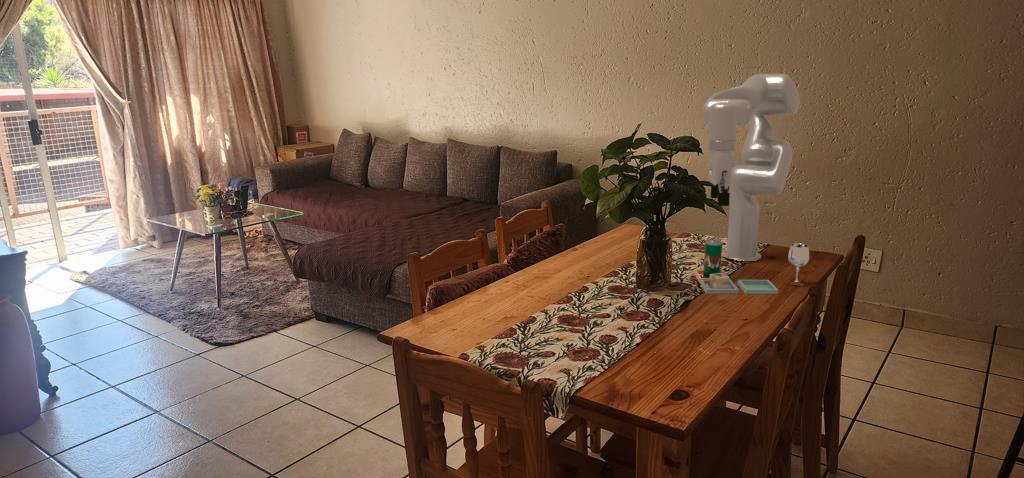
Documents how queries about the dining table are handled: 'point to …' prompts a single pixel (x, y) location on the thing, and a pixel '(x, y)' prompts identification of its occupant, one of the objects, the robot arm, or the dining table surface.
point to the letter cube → (719, 281)
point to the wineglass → (798, 256)
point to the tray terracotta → (697, 272)
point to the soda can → (712, 257)
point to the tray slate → (708, 290)
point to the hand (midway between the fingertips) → (719, 201)
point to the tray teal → (757, 287)
